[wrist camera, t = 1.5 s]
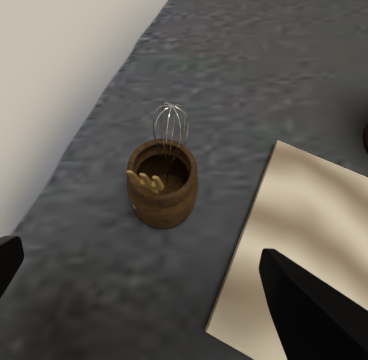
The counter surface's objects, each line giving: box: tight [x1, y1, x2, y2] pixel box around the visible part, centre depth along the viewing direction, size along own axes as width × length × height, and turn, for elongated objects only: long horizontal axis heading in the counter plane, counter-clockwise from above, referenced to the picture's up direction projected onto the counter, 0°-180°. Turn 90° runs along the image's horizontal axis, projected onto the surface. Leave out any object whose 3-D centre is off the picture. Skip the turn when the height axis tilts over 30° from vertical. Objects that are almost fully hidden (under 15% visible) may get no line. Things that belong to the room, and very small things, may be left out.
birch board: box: [205, 141, 368, 360], centre depth 21 cm, size 20×14×1 cm
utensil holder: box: [127, 102, 198, 229], centre depth 17 cm, size 6×6×12 cm
